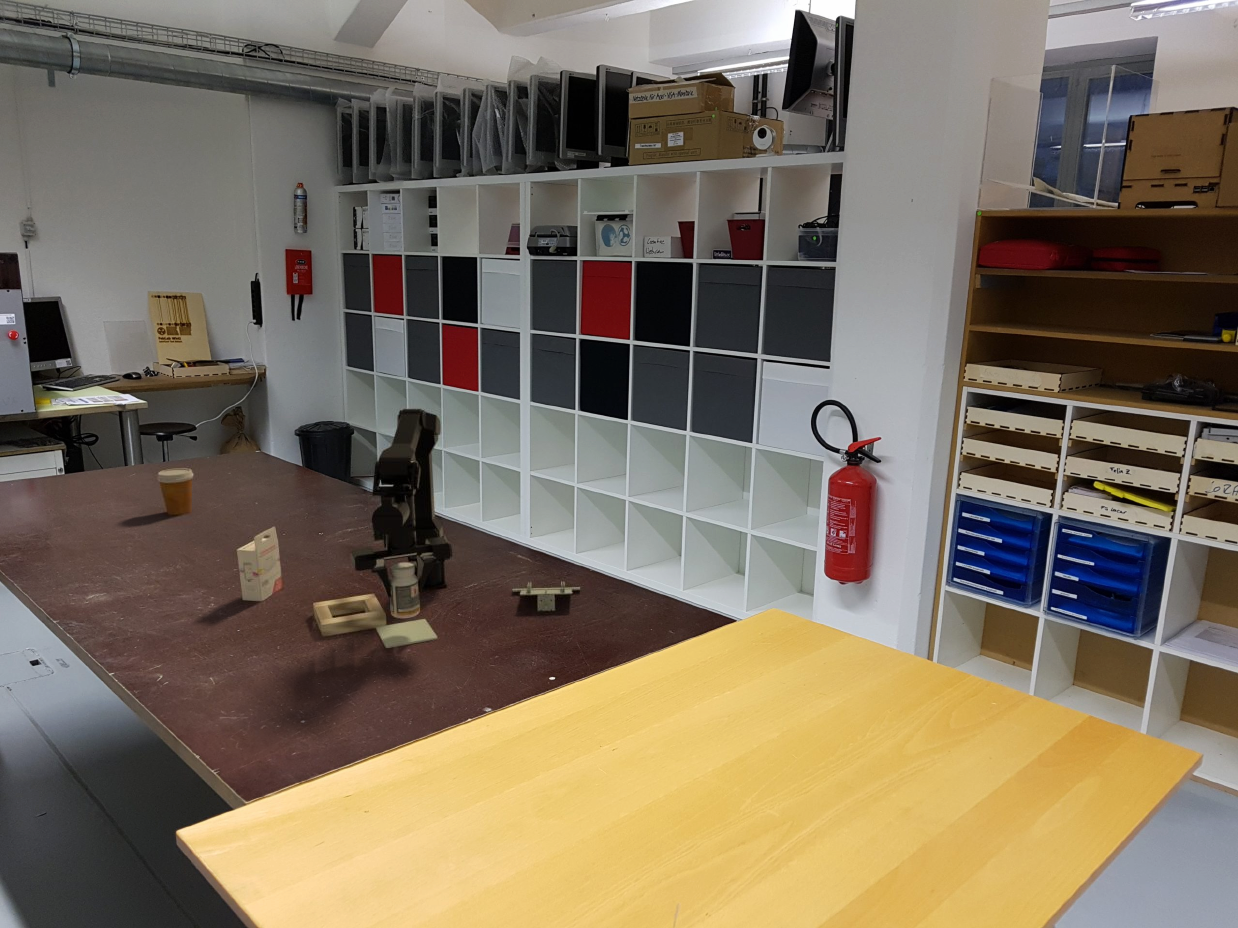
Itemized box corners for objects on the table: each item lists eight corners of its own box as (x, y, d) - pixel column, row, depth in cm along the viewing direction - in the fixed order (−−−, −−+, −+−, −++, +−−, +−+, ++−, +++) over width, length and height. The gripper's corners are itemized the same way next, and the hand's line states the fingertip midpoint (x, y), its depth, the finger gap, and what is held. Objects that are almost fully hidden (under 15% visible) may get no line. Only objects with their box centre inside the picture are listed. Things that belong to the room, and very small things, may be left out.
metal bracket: (581, 584, 196) (510, 586, 195) (582, 612, 196) (510, 614, 195) (579, 579, 211) (513, 581, 209) (580, 605, 210) (513, 607, 209)
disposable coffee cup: (204, 510, 269) (200, 470, 266) (173, 518, 261) (169, 477, 258) (184, 505, 274) (180, 466, 271) (154, 513, 266) (149, 472, 263)
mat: (425, 620, 191) (425, 618, 191) (437, 638, 182) (437, 637, 182) (375, 628, 187) (375, 627, 187) (386, 648, 178) (386, 646, 178)
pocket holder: (374, 604, 200) (373, 593, 199) (386, 625, 189) (385, 614, 188) (313, 614, 195) (313, 602, 194) (322, 636, 184) (321, 624, 183)
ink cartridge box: (263, 586, 210) (257, 524, 207) (283, 588, 209) (277, 525, 206) (240, 600, 202) (234, 535, 199) (261, 602, 201) (255, 537, 198)
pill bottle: (425, 610, 186) (423, 563, 183) (410, 620, 180) (407, 572, 178) (400, 606, 187) (398, 559, 185) (384, 617, 182) (381, 569, 180)
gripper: (436, 502, 190) (440, 574, 194) (343, 513, 182) (348, 588, 186) (451, 516, 180) (454, 592, 184) (353, 529, 173) (358, 607, 176)
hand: (404, 594), depth 183 cm, fingers closed on pill bottle, 6 cm apart
